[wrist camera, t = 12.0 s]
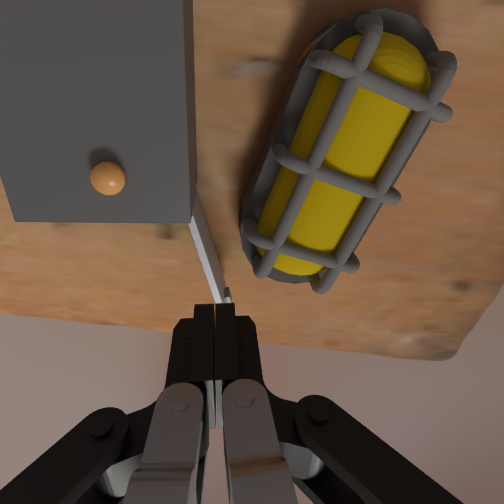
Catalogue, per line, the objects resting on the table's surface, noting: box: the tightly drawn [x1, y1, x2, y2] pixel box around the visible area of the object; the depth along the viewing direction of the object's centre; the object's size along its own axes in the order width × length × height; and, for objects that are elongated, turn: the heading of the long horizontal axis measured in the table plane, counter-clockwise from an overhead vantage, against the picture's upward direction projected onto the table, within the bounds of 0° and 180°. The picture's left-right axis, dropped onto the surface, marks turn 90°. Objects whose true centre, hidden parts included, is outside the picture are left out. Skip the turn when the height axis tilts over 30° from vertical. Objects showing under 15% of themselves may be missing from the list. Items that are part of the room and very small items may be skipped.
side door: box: [188, 190, 232, 303], centre depth 40 cm, size 1×14×7 cm, turn 12°
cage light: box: [239, 8, 457, 294], centre depth 37 cm, size 15×8×30 cm
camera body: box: [0, 0, 197, 223], centre depth 29 cm, size 18×17×13 cm
